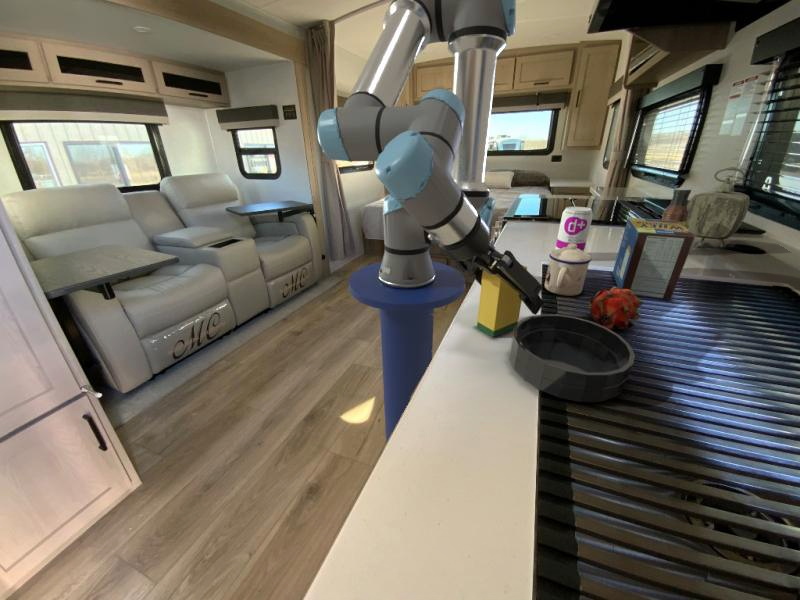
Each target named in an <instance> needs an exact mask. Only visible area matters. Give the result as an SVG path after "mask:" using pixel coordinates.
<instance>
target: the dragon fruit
mask: <svg viewBox="0 0 800 600" xmlns="http://www.w3.org/2000/svg"><path fill="white" fill-rule="evenodd" d="M642 305H643V301H642V300H641V298H639V296H636V295H634V292H633V291H632V290H629V289H620V287H617V286H612V288H610V290H607V289H601V290H599V291H598V292H596V293H595V295H594V296H593V297H592V298H591V299H590V301H589V302H588V307H589V312H590V313H589V314H590V315H591V317H592V319H593V320H594V321H593V322H594V323H596V324H599V325H601V326H604V327H606V328H608V329H610V330H611V331H613V330H614V329H615V328H617V329H618V330H624V329H632V328H634V327H636V326H637V323H636V322H635V321H637V320H639V319H640V318H641V315H640V312H639V310H638V309H639V308H641V306H642Z"/></svg>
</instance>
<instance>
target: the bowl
mask: <svg viewBox="0 0 800 600" xmlns="http://www.w3.org/2000/svg"><path fill="white" fill-rule="evenodd" d="M635 356H636V355H635V353H634V351H633V348H632V346H631V345H630V344H629V342H627V340H625V338H623V337H622V336H621V335H619V334H618V333H616V332H615V331H613V330H610V329H608V328H606V327H604V326H601V325H599V324H596V323H595V321H592V320H588V319H584V318H580V317H576V316H571V315H565V314H557V313H555V314H553V313H552V314H551V313H549V314H545V313H544V314H543V313H542V314H536V315H530V316H527V317H525V318H523V319H521V320H518V324H517V325H516V326H515V327H514V329H513V331H512V338H511V344H510V349H509V362H510V365H511V366H512V369H513V370H514V372H516V373H517V374H518V376H520V377H521V379H522V380H524V382H526V383H528V384H529V385H531V386H532V387H534V388H535V389H537V390H539V391H541V392H543V393H546V394H548V395H551V396H554V397H555V398H559V399H563V400H567V401H568V400H569V401H573V402H579V403H601V402H605V401H608V400H612V399H616V397H618V395H620V394H621V393H623V392H624V390H625V388H626V384H627V381H628V379H629V377H630V373H631V370H632V368H633V365H634V361H635Z"/></svg>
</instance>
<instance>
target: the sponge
mask: <svg viewBox="0 0 800 600" xmlns="http://www.w3.org/2000/svg"><path fill="white" fill-rule="evenodd" d="M494 265H495V263H493V264H492V266H491V267H490V268H491V269H492V267H493V266H494ZM521 265H522V266H523V267H524V268H525V269H526V270H527V271H528V266H526V265H523V264H521ZM522 303H523V301H521V300H520V297H519V293H518V292H516V291H515V290H514V289H513V288H511V287H510V286H509V285H508V284H506V283H505V282H504V281H503V280H501V279H500V278H499V277H498V276H496V275H490V274H489V273H488V272H486V271H485V270H484V269H483V274H482V283H481V285H480V293H479V302H478V312H477V313H478V314H477V322H476V328H477V329H478V330H479V331H481V332H483V333H485V334H487V335H488V336H490V337H491V338H495V337H497V336H500V335H502V334H504V333H506V332H509V331H511V330H514V327H515V326H516V325H517V324H518V322H519V321H520V320H519V319H520V313H521V308H522Z"/></svg>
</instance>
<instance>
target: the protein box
mask: <svg viewBox="0 0 800 600" xmlns="http://www.w3.org/2000/svg"><path fill="white" fill-rule="evenodd" d="M695 238H696V237H695V235H694V234H693V233H691V232H690V231H689V230H687V229H686V228H685V227H684V226H682V225H681V224H679V223H678V222H677V221H675V220H661V219H659V218H658V219H656V218H641V217H640V218H639V217H628V218H627V221H626V224H625V228H624V230H623V234H622V238H621V242H620V244H619V249H618V252H617V255H616V259H615V263H614V266H613V270H612V275H613V278H614V280H615V283H616V287H620V289H629V290H632V291H633V292H634V295H636V296H637V297H644V298H650V299H651V298H652V299H658V300H666V301H672V298H673V295H674V293H675V290H676V287H677V285H678V282H679V280H680V277H681V275H682V272H683V269H684V267H685V265H686V261H687V259H688V256H689V254H690V251H691V248H692V246H693V243H694V241H695Z"/></svg>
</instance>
